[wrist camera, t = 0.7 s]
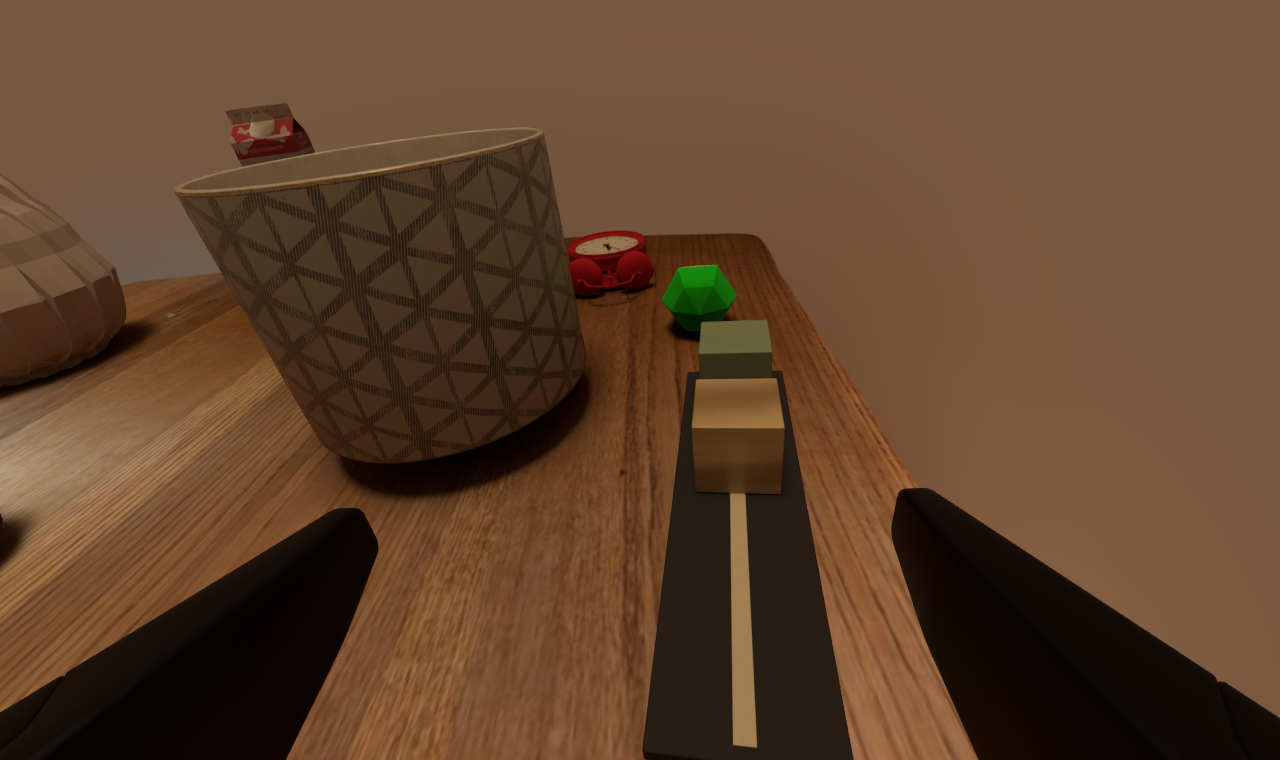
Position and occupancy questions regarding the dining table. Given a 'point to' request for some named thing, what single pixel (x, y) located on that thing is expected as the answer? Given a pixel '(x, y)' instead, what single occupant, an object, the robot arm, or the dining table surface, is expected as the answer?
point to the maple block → (738, 436)
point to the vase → (50, 292)
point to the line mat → (742, 624)
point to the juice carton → (267, 134)
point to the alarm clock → (609, 262)
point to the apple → (698, 296)
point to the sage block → (735, 350)
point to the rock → (1, 521)
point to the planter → (403, 286)
